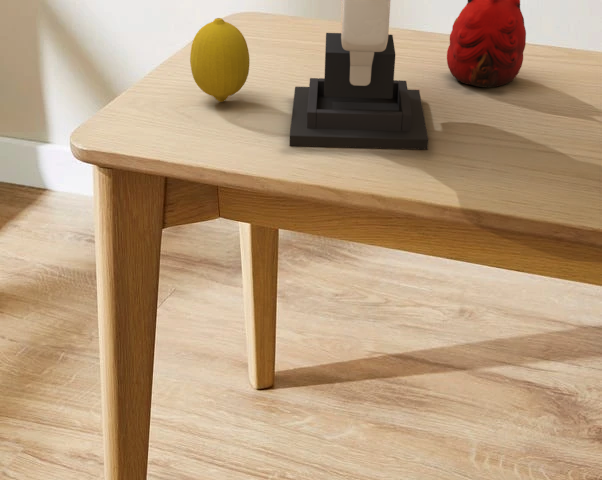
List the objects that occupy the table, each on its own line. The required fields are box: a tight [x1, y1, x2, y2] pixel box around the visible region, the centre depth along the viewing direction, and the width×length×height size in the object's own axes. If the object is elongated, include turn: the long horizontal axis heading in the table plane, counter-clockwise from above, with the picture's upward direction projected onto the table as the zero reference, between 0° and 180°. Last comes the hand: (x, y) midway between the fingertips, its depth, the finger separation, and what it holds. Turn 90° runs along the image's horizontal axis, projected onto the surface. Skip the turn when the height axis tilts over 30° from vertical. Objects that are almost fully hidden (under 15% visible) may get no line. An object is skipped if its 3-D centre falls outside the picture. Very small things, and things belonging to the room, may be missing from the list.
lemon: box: [189, 17, 251, 103], centre depth 91 cm, size 6×6×8 cm
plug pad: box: [323, 32, 396, 99], centre depth 87 cm, size 6×6×4 cm
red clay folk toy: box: [446, 0, 527, 88], centre depth 95 cm, size 8×7×15 cm
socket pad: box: [289, 77, 429, 151], centre depth 89 cm, size 12×12×2 cm
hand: (359, 69), depth 87 cm, fingers closed on plug pad, 5 cm apart
